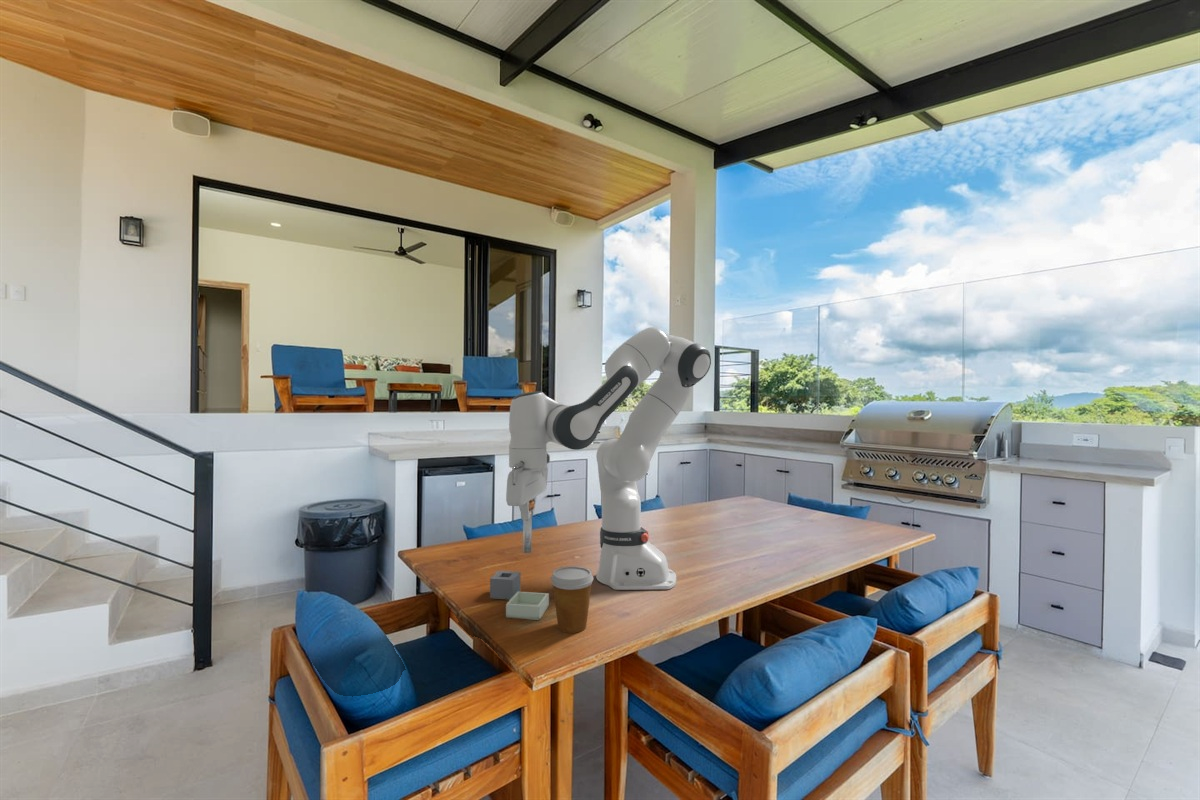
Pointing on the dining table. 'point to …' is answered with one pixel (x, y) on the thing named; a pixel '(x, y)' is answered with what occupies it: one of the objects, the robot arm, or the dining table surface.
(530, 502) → the pin
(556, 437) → the robot arm
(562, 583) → the disposable coffee cup
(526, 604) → the tray
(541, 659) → the dining table surface
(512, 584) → the pin block
